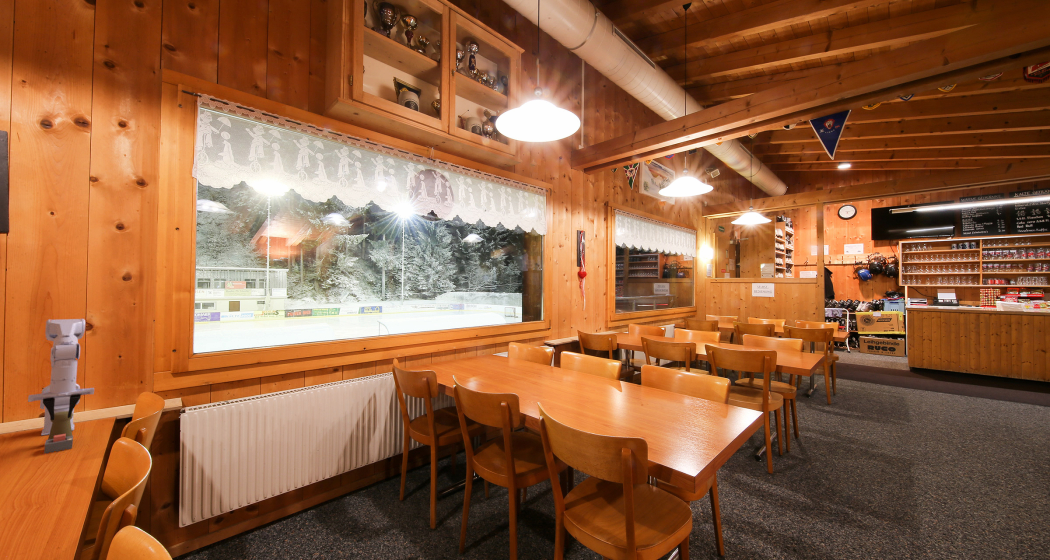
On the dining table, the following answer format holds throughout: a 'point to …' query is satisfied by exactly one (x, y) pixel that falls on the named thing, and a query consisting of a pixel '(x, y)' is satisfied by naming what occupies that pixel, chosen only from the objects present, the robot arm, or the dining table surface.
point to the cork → (61, 424)
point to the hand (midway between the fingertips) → (60, 418)
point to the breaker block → (58, 445)
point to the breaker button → (59, 437)
